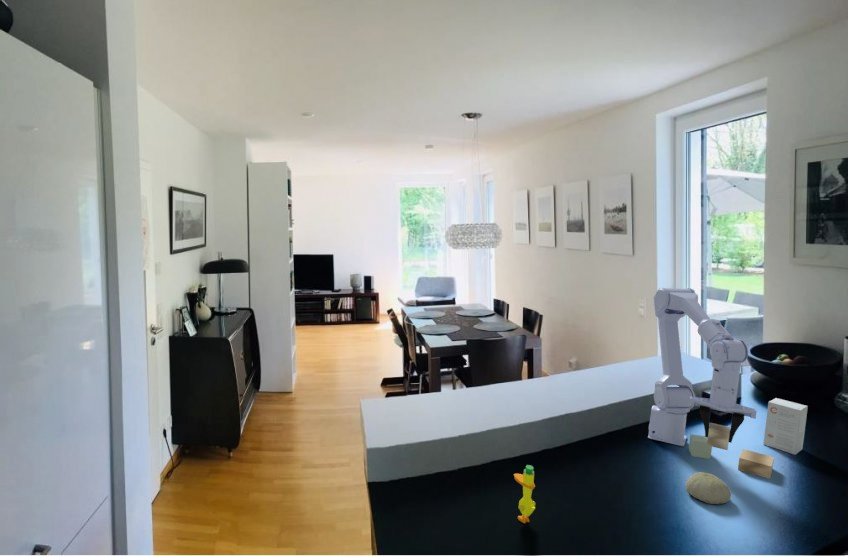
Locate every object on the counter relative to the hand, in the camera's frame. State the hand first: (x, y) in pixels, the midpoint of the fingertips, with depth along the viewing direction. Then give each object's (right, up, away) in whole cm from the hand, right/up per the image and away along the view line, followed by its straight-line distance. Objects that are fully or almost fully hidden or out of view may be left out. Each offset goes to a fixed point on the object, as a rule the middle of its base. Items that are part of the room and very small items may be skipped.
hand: (718, 438), depth 132 cm
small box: (+28, -8, +18) cm, 34 cm away
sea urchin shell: (-9, -10, -11) cm, 18 cm away
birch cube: (0, -2, 0) cm, 2 cm away
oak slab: (+11, -9, +3) cm, 15 cm away
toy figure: (-54, -10, -24) cm, 60 cm away
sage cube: (+1, -8, +11) cm, 13 cm away
